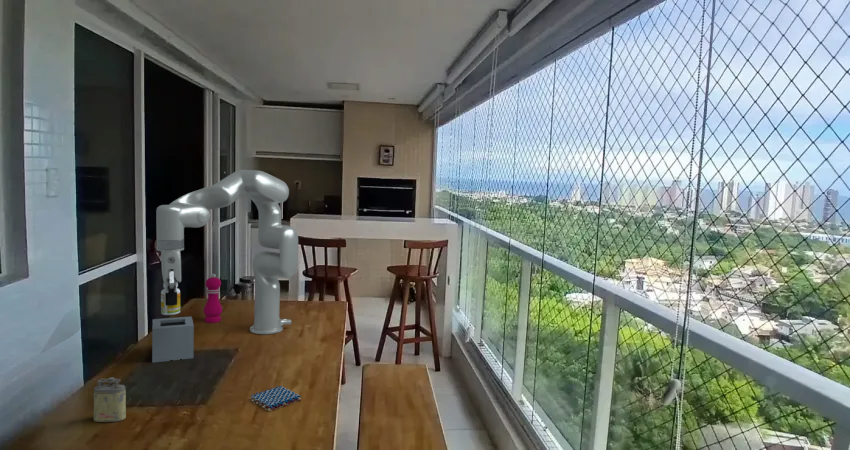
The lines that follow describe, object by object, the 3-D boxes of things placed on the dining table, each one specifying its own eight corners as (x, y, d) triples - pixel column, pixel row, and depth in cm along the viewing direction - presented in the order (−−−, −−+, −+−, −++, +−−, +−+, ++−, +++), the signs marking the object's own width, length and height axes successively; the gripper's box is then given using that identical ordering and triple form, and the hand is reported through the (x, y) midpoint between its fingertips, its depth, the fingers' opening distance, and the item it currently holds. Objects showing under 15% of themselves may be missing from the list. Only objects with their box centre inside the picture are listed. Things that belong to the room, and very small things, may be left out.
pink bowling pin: (203, 319, 212) (203, 272, 210) (221, 318, 215) (222, 271, 213) (203, 323, 205) (204, 275, 203) (222, 322, 208) (223, 274, 206)
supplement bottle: (183, 311, 159) (183, 281, 159) (174, 315, 154) (173, 284, 153) (167, 310, 160) (167, 280, 159) (157, 314, 155) (157, 283, 154)
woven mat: (280, 390, 146) (280, 384, 145) (302, 402, 139) (303, 395, 139) (247, 401, 138) (247, 394, 137) (269, 414, 131) (269, 406, 131)
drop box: (191, 347, 177) (191, 316, 176) (193, 358, 166) (193, 325, 166) (152, 350, 171) (152, 319, 170) (152, 362, 161) (152, 329, 160)
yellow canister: (128, 415, 125) (128, 376, 125) (121, 422, 122) (121, 382, 121) (98, 415, 125) (97, 376, 124) (89, 423, 121) (89, 382, 120)
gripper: (185, 248, 149) (186, 308, 151) (182, 241, 164) (182, 295, 166) (157, 249, 146) (157, 310, 148) (156, 241, 161) (156, 297, 162)
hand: (170, 302), depth 157 cm, fingers closed on supplement bottle, 5 cm apart
